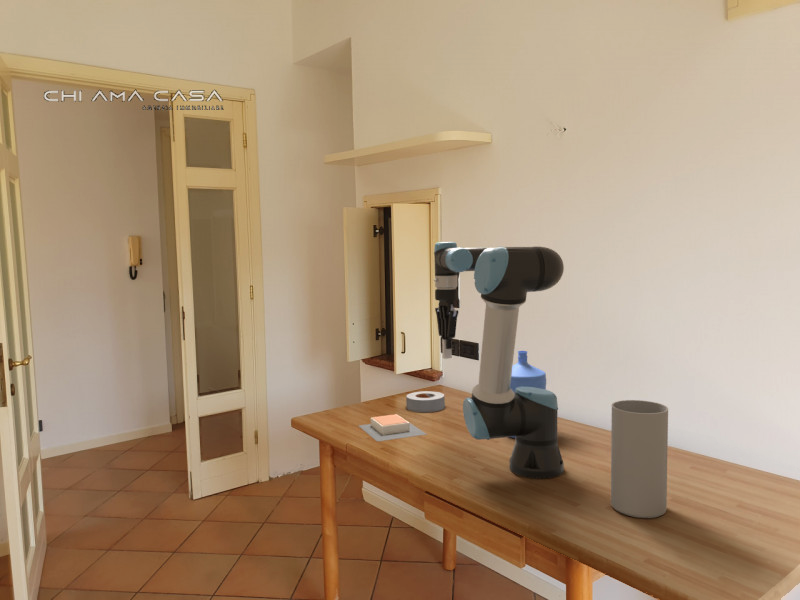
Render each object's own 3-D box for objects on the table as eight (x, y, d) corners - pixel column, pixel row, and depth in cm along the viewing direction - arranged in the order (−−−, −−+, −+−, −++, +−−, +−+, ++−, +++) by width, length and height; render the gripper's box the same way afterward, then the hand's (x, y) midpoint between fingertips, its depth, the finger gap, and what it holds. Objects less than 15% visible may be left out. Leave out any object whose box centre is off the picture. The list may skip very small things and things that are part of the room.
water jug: (544, 441, 199) (544, 356, 196) (496, 437, 204) (495, 354, 202) (548, 427, 214) (548, 348, 211) (503, 424, 219) (503, 347, 216)
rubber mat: (427, 435, 207) (427, 434, 207) (377, 442, 201) (377, 441, 201) (404, 420, 226) (404, 419, 226) (358, 426, 219) (358, 425, 219)
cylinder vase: (637, 523, 139) (639, 416, 137) (599, 503, 150) (600, 403, 148) (678, 513, 144) (680, 409, 142) (638, 494, 155) (639, 397, 153)
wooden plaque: (409, 422, 211) (396, 413, 222) (382, 425, 207) (370, 417, 218) (409, 431, 211) (396, 422, 222) (382, 435, 207) (370, 425, 218)
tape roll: (398, 407, 245) (398, 395, 245) (426, 400, 255) (426, 389, 255) (424, 415, 234) (424, 402, 233) (452, 407, 243) (452, 395, 243)
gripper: (427, 287, 208) (428, 356, 210) (444, 289, 196) (445, 362, 198) (447, 286, 211) (448, 354, 213) (465, 288, 199) (466, 360, 201)
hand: (447, 358), depth 206 cm, fingers closed
